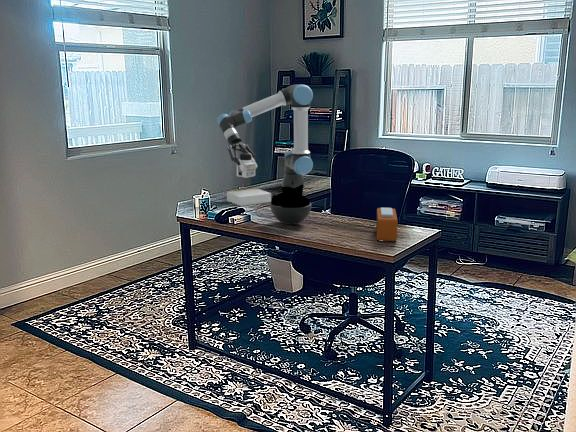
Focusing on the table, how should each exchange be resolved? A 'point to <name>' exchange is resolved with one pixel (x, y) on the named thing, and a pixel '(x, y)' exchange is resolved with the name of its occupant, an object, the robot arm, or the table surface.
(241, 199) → the block
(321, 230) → the table surface
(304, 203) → the bowl of black rocks
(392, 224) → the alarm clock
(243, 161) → the container
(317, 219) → the table surface
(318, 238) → the table surface
